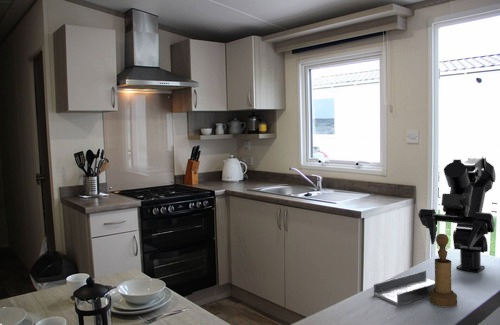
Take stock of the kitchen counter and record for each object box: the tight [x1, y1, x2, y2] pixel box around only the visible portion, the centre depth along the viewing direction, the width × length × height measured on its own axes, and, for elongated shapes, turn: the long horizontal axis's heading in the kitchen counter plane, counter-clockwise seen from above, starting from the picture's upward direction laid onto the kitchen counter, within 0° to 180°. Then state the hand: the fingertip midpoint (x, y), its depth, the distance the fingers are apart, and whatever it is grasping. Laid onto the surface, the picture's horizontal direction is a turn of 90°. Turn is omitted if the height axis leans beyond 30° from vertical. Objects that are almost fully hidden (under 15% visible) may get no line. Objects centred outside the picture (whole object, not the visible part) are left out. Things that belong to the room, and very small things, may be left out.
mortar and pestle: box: [429, 233, 458, 308], centre depth 111 cm, size 7×6×18 cm
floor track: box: [373, 270, 435, 307], centre depth 119 cm, size 20×9×3 cm, turn 117°
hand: (450, 245), depth 116 cm, fingers open, 9 cm apart
